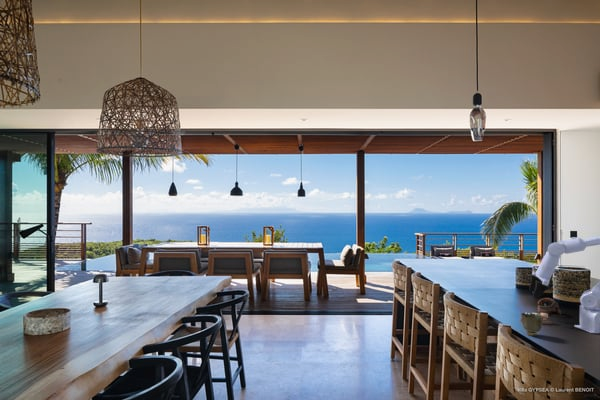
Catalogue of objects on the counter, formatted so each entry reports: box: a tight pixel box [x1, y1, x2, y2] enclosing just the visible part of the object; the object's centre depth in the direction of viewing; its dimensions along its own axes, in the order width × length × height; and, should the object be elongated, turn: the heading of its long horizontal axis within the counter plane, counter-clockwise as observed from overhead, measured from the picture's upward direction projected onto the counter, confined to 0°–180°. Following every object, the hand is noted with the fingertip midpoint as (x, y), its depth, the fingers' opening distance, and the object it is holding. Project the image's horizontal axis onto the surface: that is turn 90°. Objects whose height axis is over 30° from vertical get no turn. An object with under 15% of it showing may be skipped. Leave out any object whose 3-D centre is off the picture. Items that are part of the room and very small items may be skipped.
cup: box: [520, 312, 543, 337], centre depth 150 cm, size 8×7×8 cm
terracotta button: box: [539, 312, 549, 319], centre depth 167 cm, size 3×3×2 cm
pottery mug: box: [537, 297, 562, 316], centre depth 185 cm, size 12×10×8 cm
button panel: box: [519, 317, 553, 325], centre depth 167 cm, size 5×11×1 cm, turn 93°
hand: (533, 294), depth 172 cm, fingers open, 7 cm apart
